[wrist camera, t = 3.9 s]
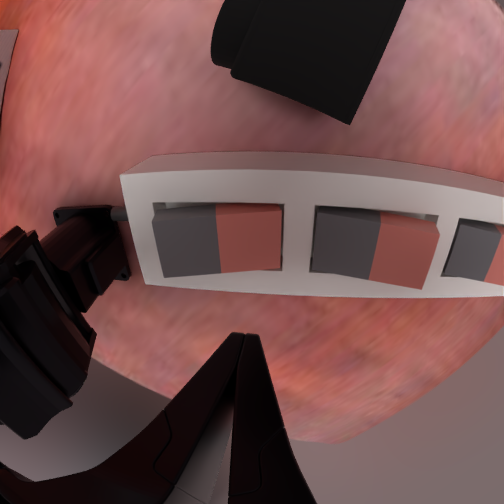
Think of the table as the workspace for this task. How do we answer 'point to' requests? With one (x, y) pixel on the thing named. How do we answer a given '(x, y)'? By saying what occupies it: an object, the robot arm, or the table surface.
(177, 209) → the rocker
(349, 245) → the rocker
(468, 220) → the rocker
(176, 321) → the table surface
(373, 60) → the black cubic block
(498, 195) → the rocker switch panel
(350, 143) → the table surface
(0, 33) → the hard drive box
